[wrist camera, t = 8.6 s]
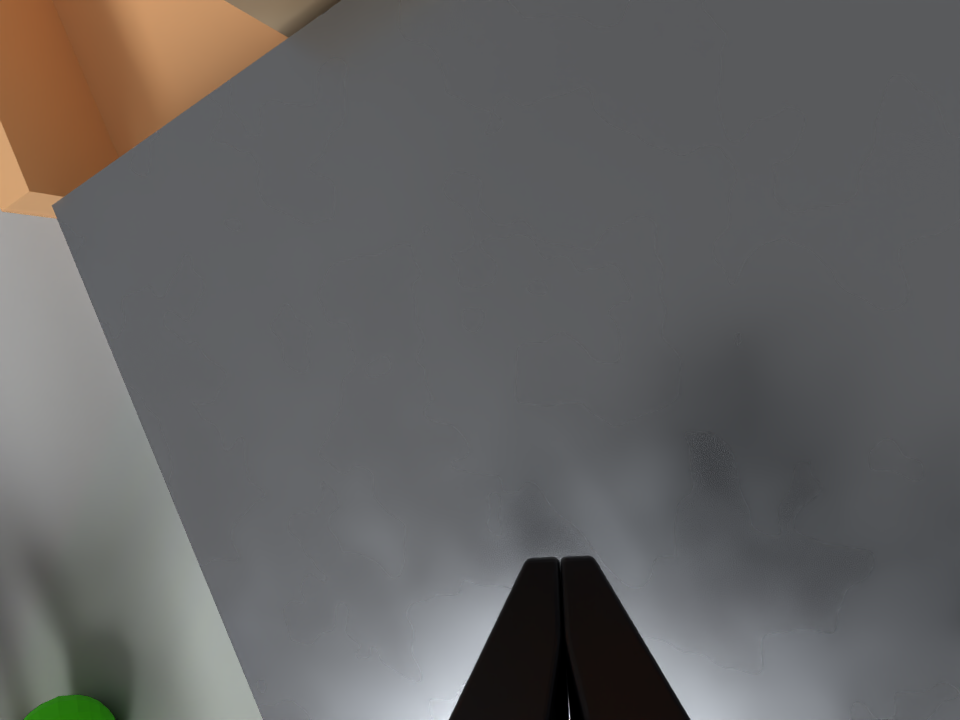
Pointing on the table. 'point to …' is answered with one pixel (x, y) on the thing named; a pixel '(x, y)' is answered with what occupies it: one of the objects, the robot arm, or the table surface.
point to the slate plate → (560, 343)
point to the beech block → (284, 12)
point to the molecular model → (71, 709)
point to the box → (105, 82)
